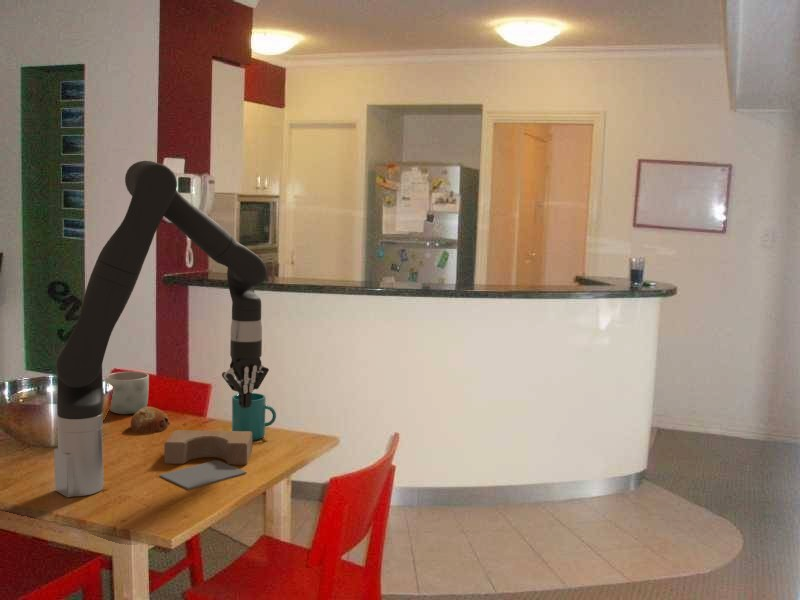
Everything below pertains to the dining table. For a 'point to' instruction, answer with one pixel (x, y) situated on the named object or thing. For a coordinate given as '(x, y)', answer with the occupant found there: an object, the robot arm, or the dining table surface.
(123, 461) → the dining table surface
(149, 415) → the bread roll
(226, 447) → the decorative block
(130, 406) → the planter
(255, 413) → the cup
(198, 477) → the mat
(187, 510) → the dining table surface
